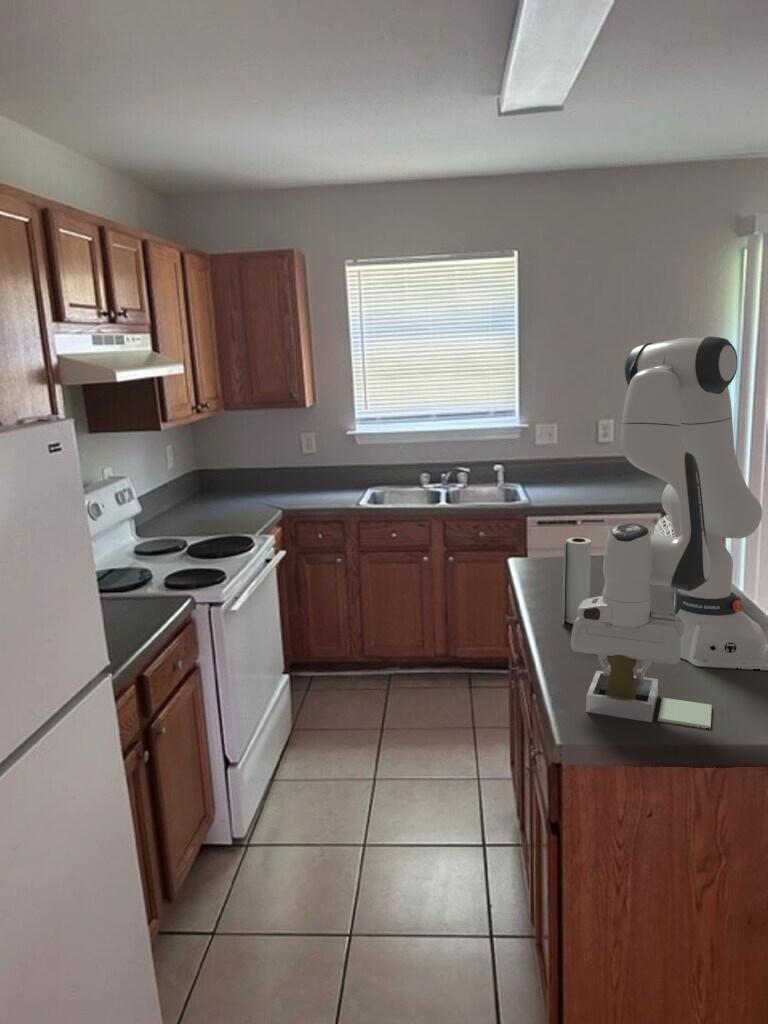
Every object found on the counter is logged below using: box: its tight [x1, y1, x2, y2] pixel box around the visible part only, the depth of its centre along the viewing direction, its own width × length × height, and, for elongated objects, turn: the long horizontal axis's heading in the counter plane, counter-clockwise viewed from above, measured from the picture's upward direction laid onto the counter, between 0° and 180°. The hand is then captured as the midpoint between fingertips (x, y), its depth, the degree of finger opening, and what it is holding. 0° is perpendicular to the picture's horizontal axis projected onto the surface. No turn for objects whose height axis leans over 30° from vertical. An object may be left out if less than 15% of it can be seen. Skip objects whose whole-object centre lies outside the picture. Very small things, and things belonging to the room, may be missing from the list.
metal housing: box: [585, 670, 659, 723], centre depth 150 cm, size 12×12×4 cm
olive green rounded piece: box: [605, 655, 637, 700], centre depth 149 cm, size 6×6×11 cm
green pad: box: [657, 697, 713, 730], centre depth 145 cm, size 9×9×1 cm
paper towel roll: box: [562, 537, 592, 625], centre depth 193 cm, size 7×6×21 cm
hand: (623, 677), depth 149 cm, fingers open, 5 cm apart
